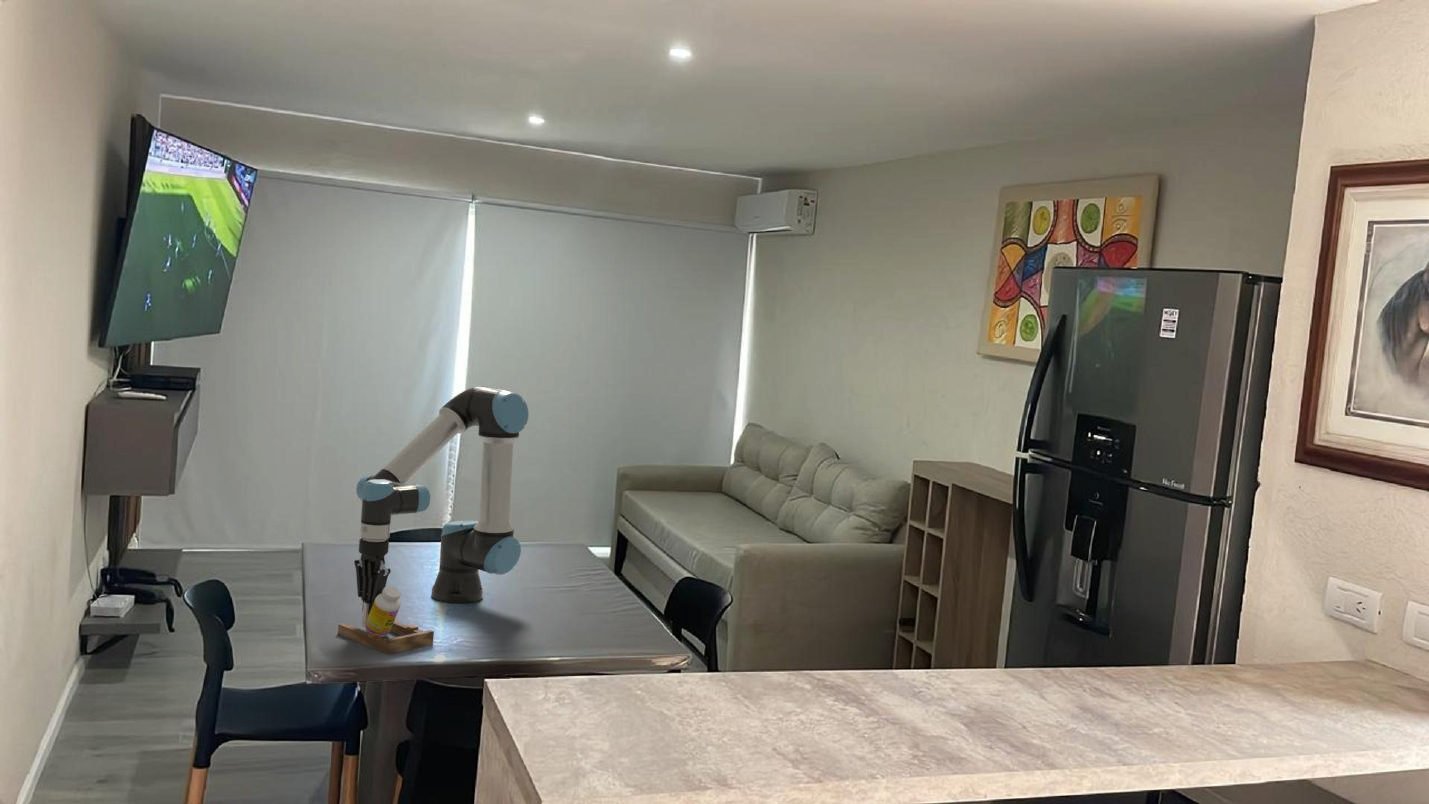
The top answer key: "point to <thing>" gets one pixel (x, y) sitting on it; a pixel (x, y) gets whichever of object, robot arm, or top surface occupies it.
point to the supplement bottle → (383, 611)
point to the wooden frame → (406, 641)
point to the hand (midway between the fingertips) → (367, 625)
